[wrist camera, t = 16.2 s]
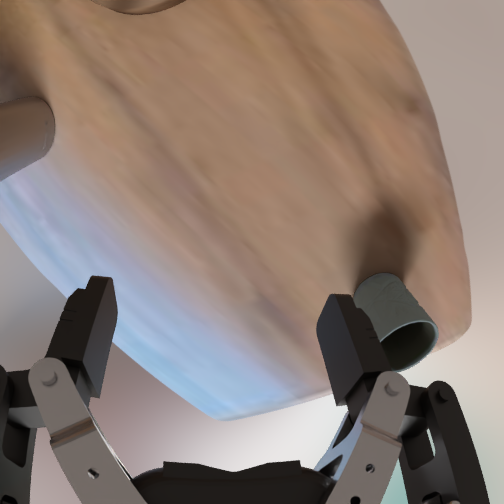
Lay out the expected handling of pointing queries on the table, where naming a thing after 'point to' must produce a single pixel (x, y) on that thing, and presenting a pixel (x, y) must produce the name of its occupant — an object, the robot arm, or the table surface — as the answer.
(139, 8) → the walnut plinth
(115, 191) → the table surface
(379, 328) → the grey-green cup
